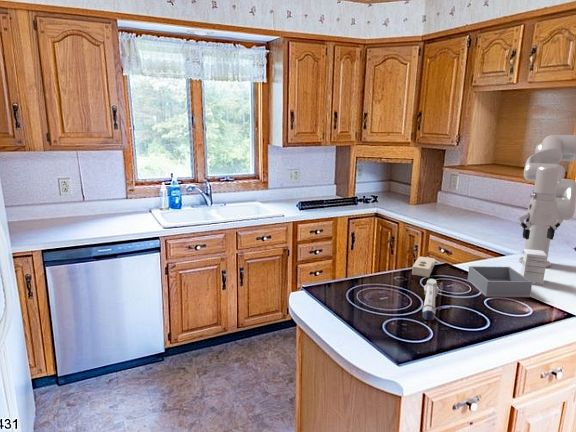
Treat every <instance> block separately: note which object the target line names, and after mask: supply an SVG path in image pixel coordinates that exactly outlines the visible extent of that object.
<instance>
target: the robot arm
mask: <svg viewBox="0 0 576 432" xmlns="http://www.w3.org/2000/svg"><path fill="white" fill-rule="evenodd" d="M575 161H576V134H550V135H548V136H546V137H545V138H543V140H542V142H541V143H538V144H537V145H536V147H535V149H534V153H533V154H532V155H529V157H528V158H527V159H526V162H525V164H524V169H523V178H524V179H525V180H526V181H528V182H534V187H533V188H534V189H533V192H532V193H531V194H530V195H529V196H530V201H529V203H528V206H527V211H526V214H525V215H522V216H520V217H518V218H517V220H518V222H519V225H520V226H521V227H522V229H523V230H522V238H523V239H525V245H524V246H525V247H524V249H531V250H541V251H544V252H545V254H546V255H547V259H548V258H549V251H550V245H551V240H554V237H555V232H556V230H557V229H558V228H559V227H560V226H561V225H562V223H563V221H569V220H571V219H572V218H573V217H574V215H575V211H576V181H575V180H574V179H571V178H570V179H569V178H565V175H566V169H565V167H564V166H563V165H561V164H559V163H560V162H575ZM521 253H522V254H523V255H522V256H521V257H519V260H518V261H519V262H520V263H521V264H522V263H523V256H524V250H522V251H521ZM551 265H552V264H551V262H550V261H549V260H547V261H546V267H545V268H549V267H551Z"/></svg>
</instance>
